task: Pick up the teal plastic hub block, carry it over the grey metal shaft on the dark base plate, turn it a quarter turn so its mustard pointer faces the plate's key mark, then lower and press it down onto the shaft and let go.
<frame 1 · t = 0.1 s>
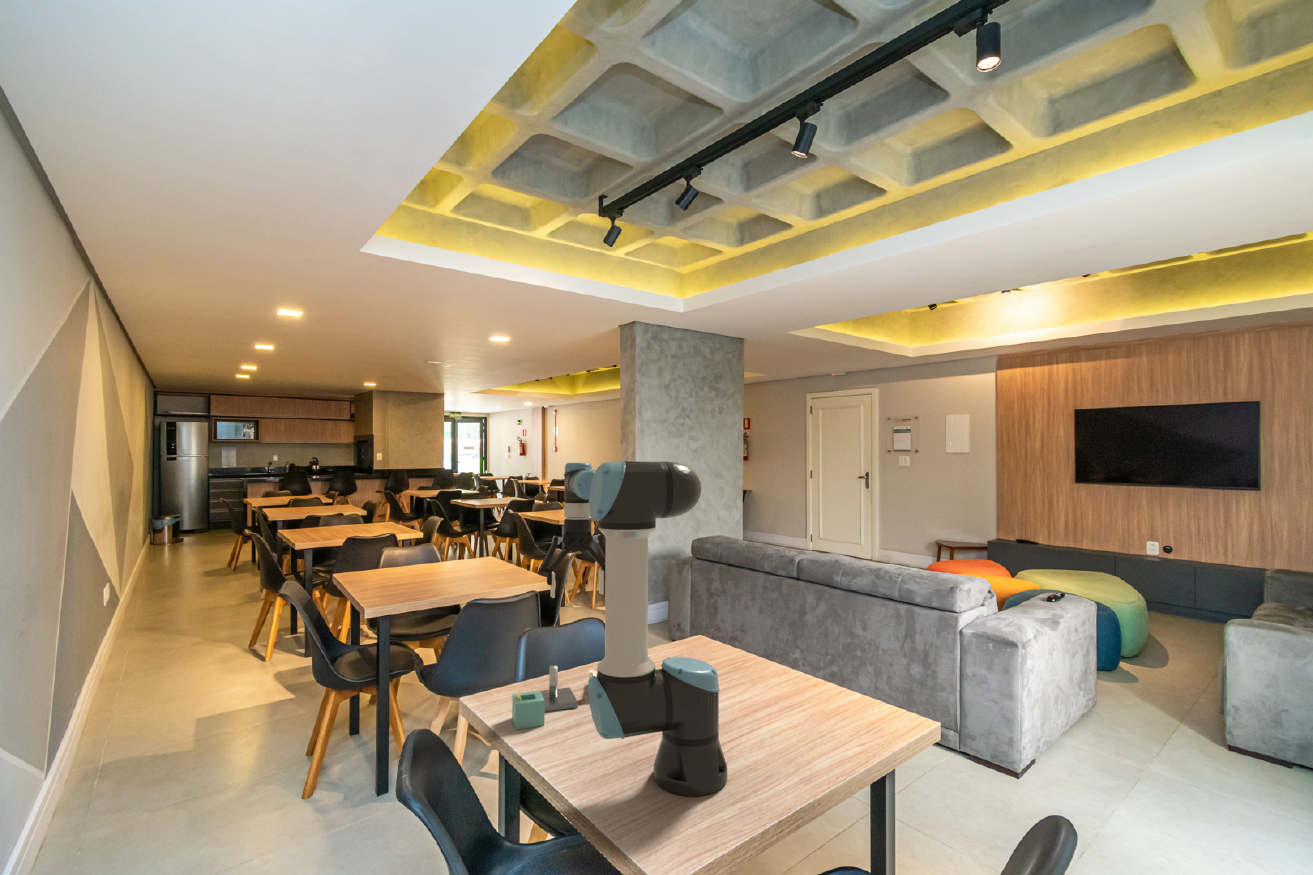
hand: (577, 595, 168), 28 cm above the table, fingers open, 13 cm apart
hub: (528, 721, 151), on the table
shaft base: (553, 702, 163), on the table
bracket: (603, 692, 172), on the table
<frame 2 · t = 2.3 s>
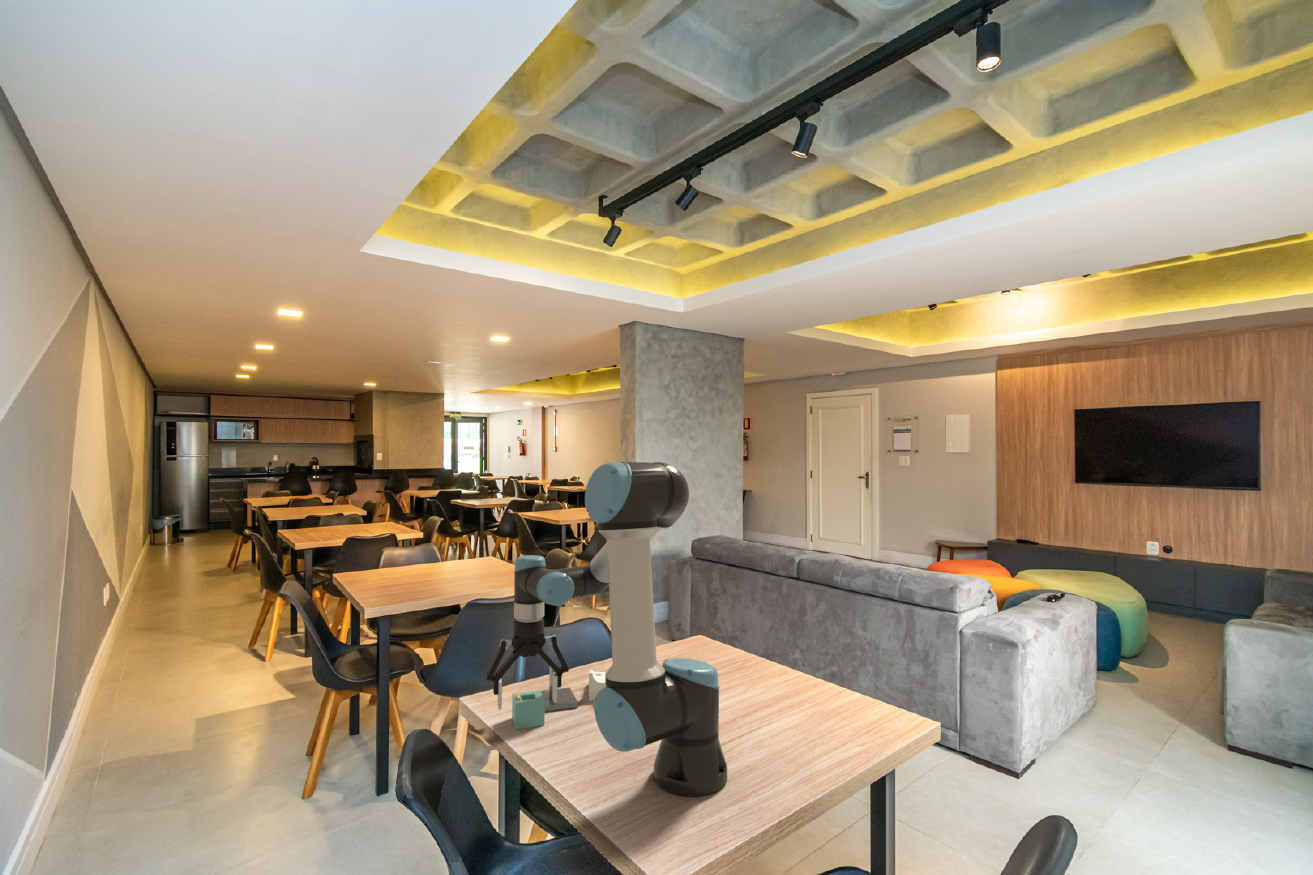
hand: (527, 703, 152), 4 cm above the table, fingers open, 13 cm apart
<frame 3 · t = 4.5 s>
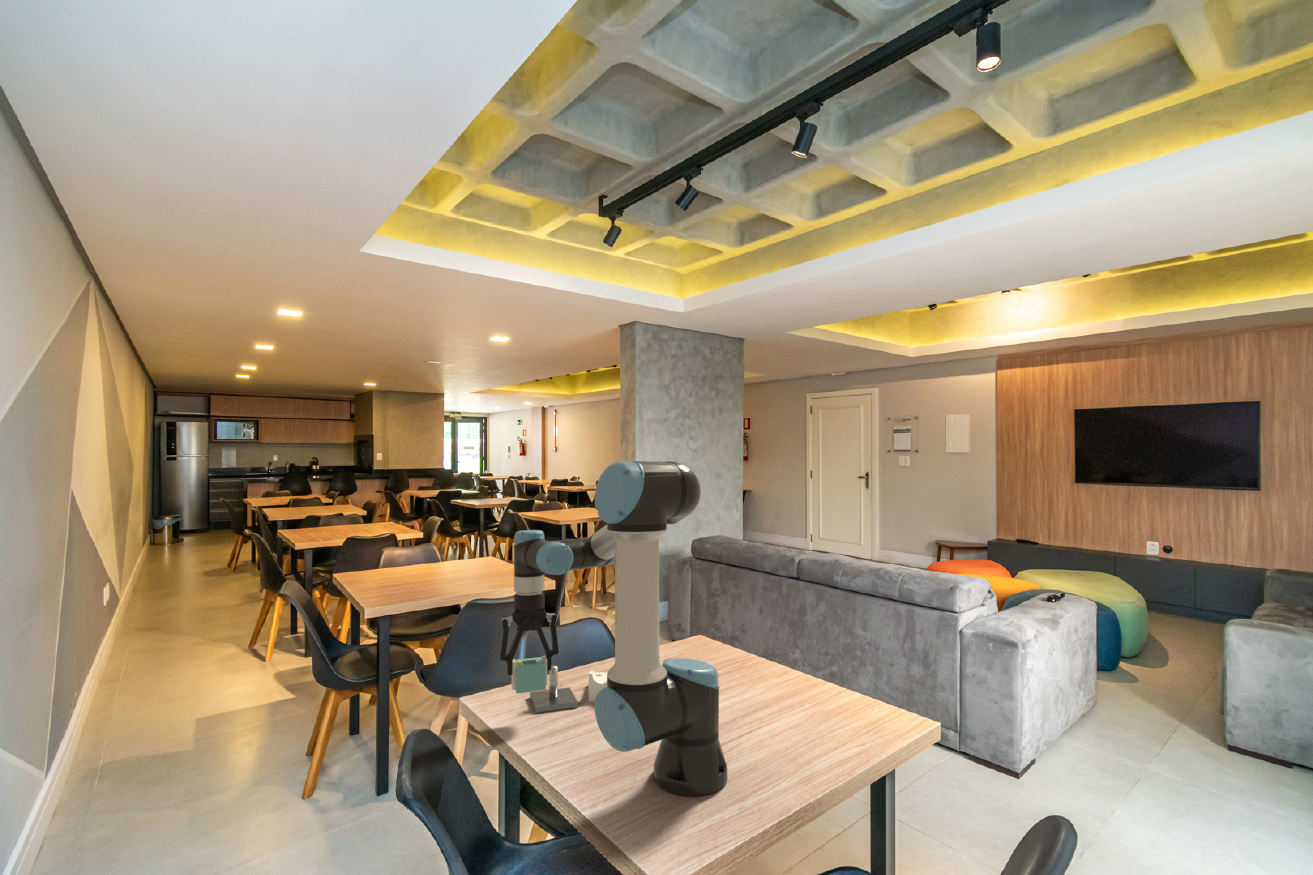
hand: (529, 685, 151), 9 cm above the table, fingers closed on hub, 7 cm apart
hub: (529, 686, 151), point 9 cm above the table, touching gripper
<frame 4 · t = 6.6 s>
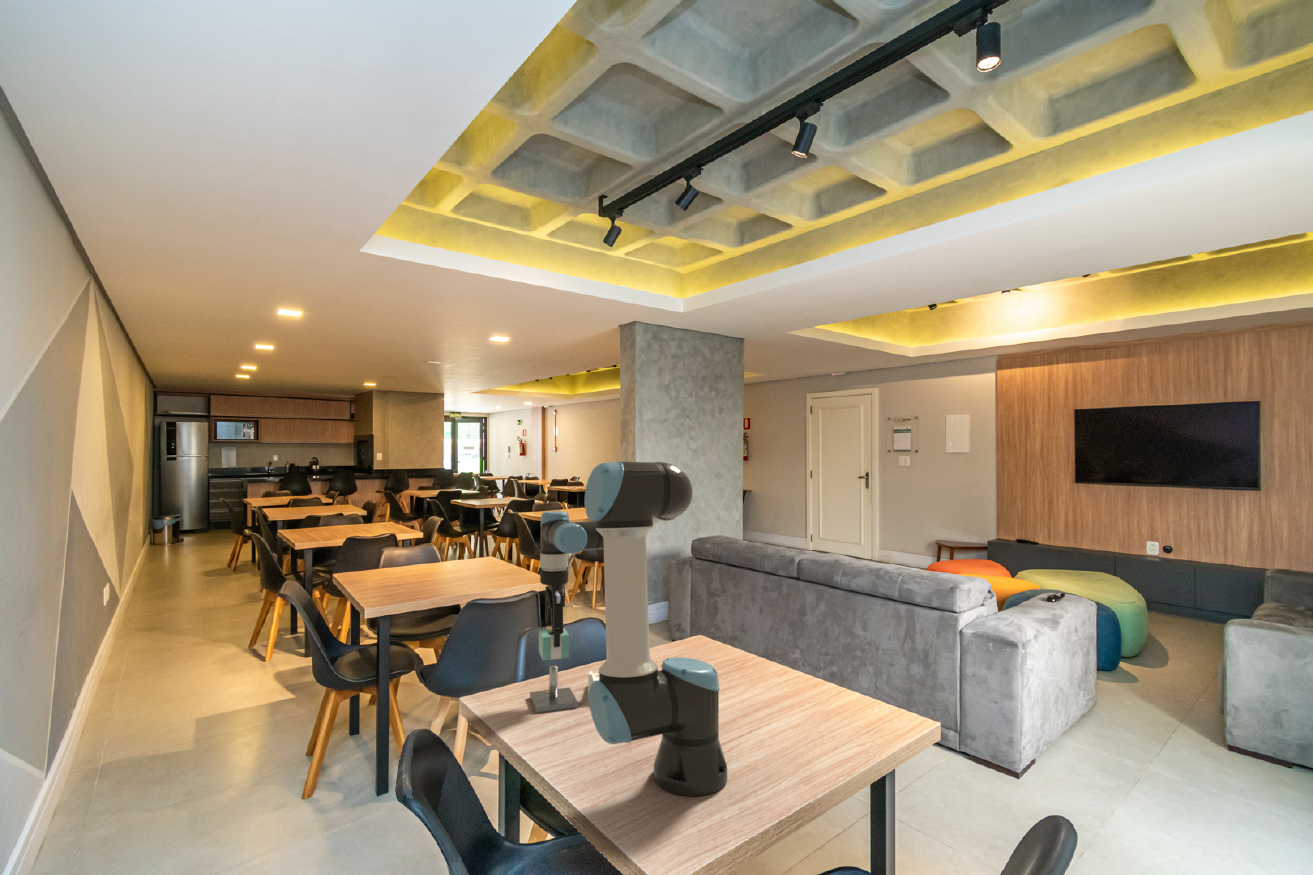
hand: (553, 653, 164), 13 cm above the table, fingers closed on hub, 7 cm apart
hub: (553, 654, 164), point 13 cm above the table, touching gripper
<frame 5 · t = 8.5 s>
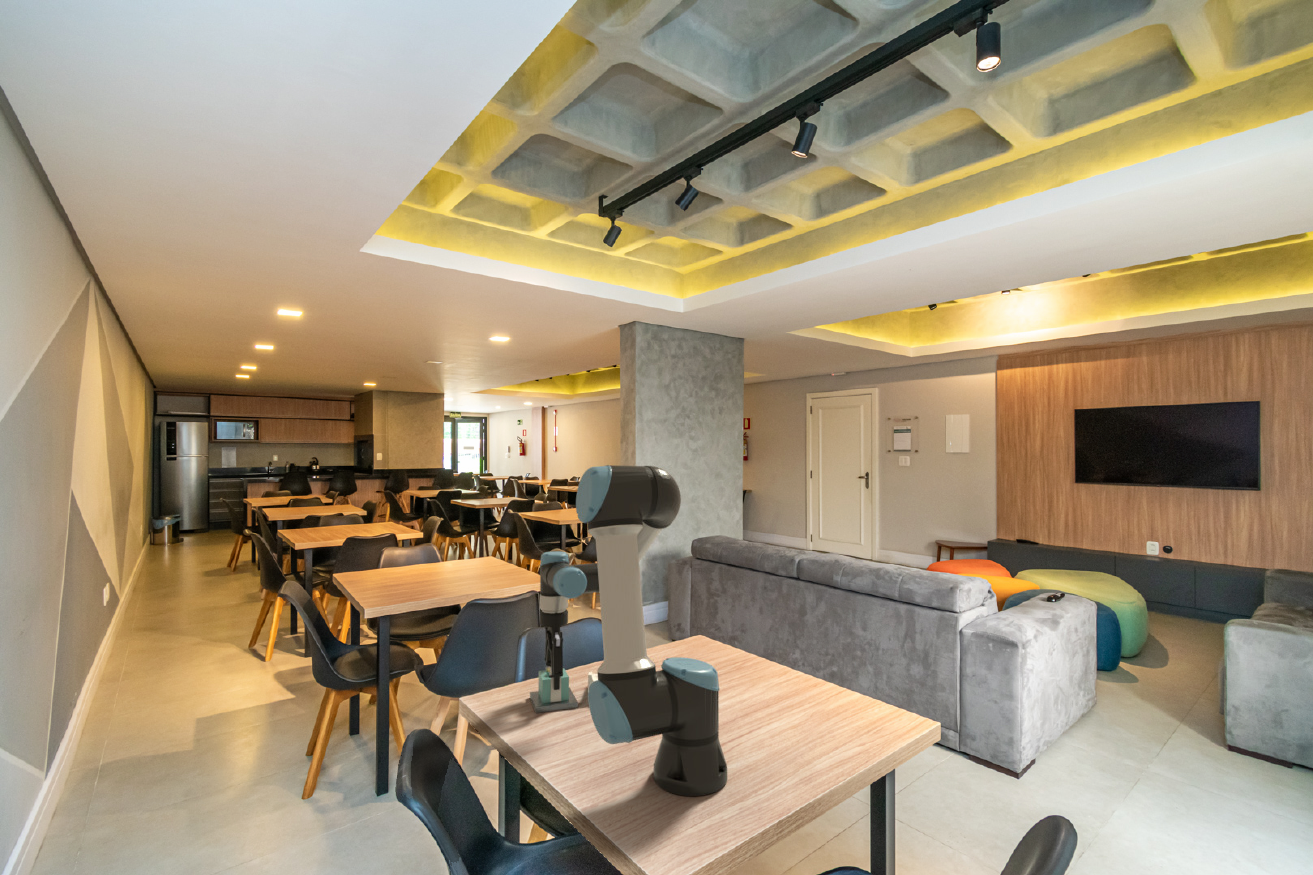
hand: (553, 695, 163), 2 cm above the table, fingers closed on hub, 7 cm apart
hub: (553, 696, 163), point 2 cm above the table, touching gripper, shaft base
when the fingers open (2 cm above the table, at t = 8.9 s): hub stays where it is, resting on shaft base.
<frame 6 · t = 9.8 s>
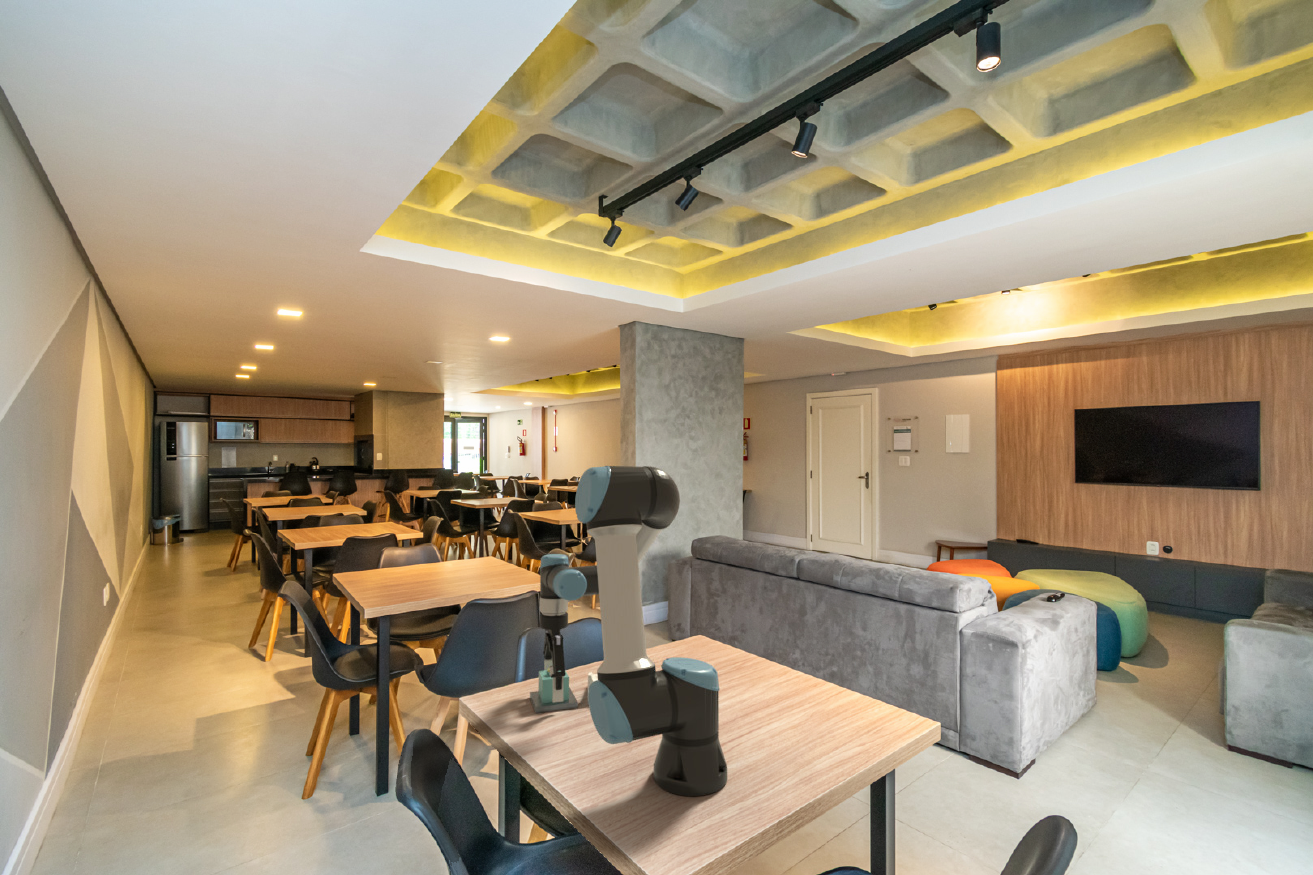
hand: (553, 692, 163), 3 cm above the table, fingers open, 13 cm apart
hub: (553, 696, 163), point 2 cm above the table, touching shaft base
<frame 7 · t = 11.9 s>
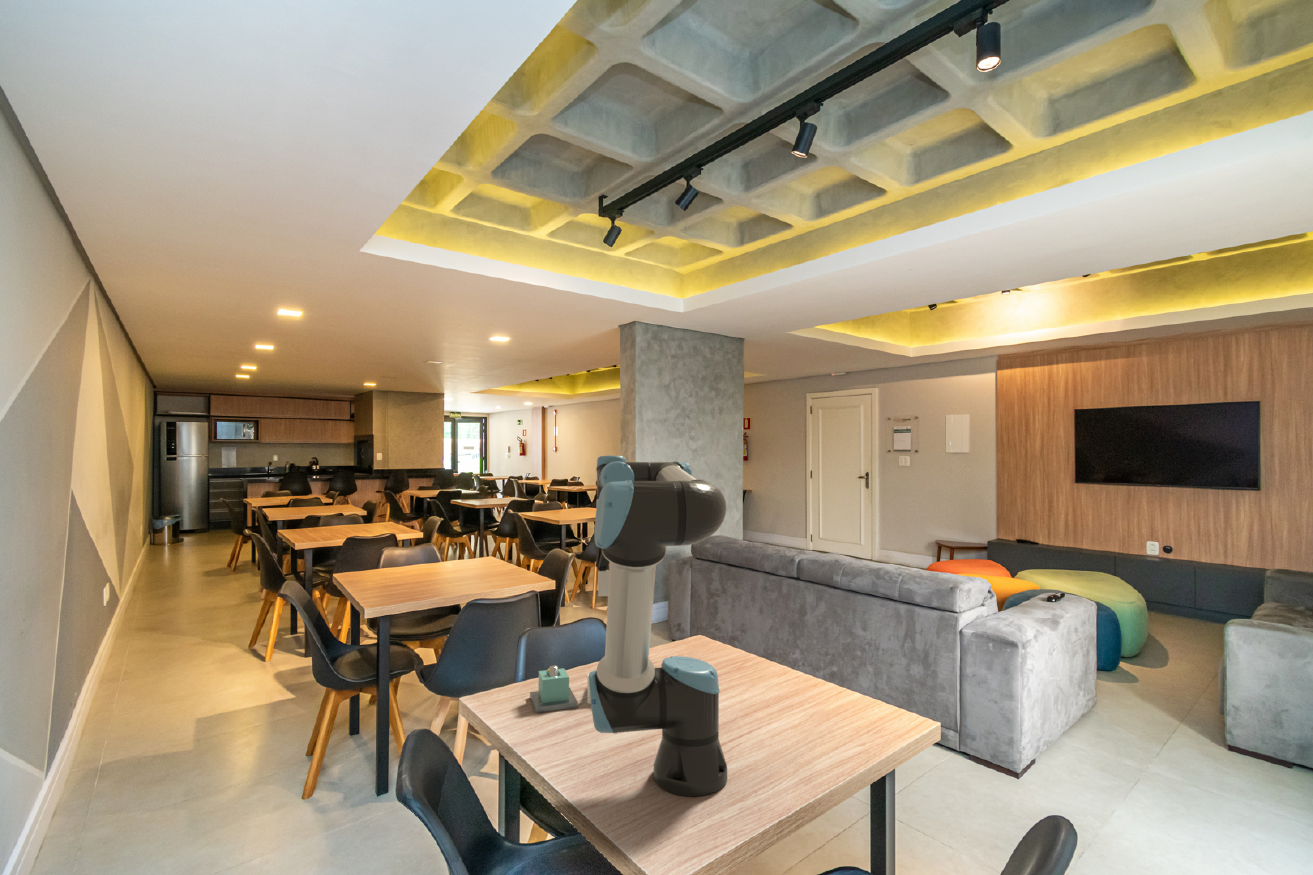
hand: (611, 600, 154), 30 cm above the table, fingers open, 13 cm apart
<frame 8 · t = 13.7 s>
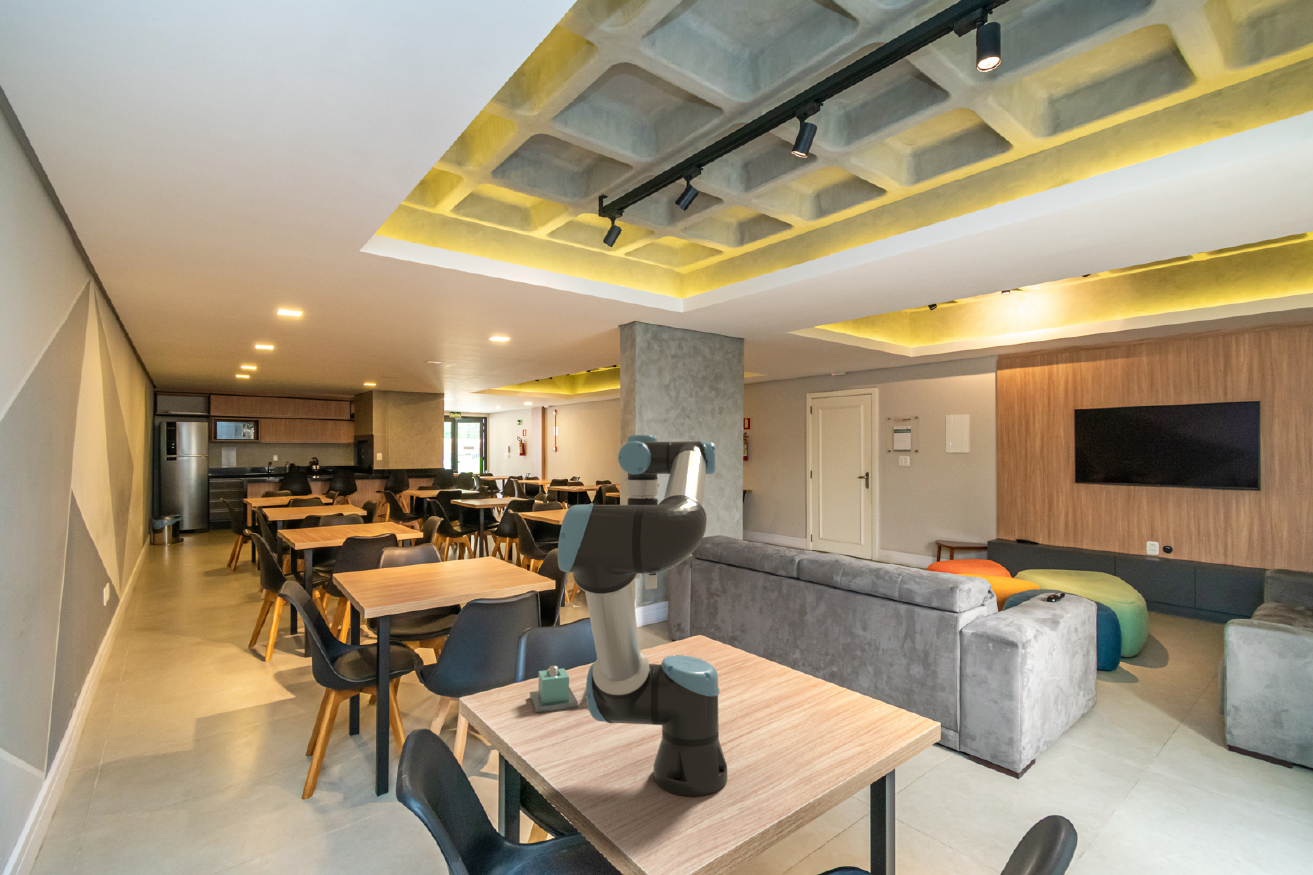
hand: (642, 583, 150), 35 cm above the table, fingers open, 13 cm apart
at the end: hub 0.1 cm off-centre on the shaft base, point 1.6 cm above the shaft base's base; the gripper is holding nothing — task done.
